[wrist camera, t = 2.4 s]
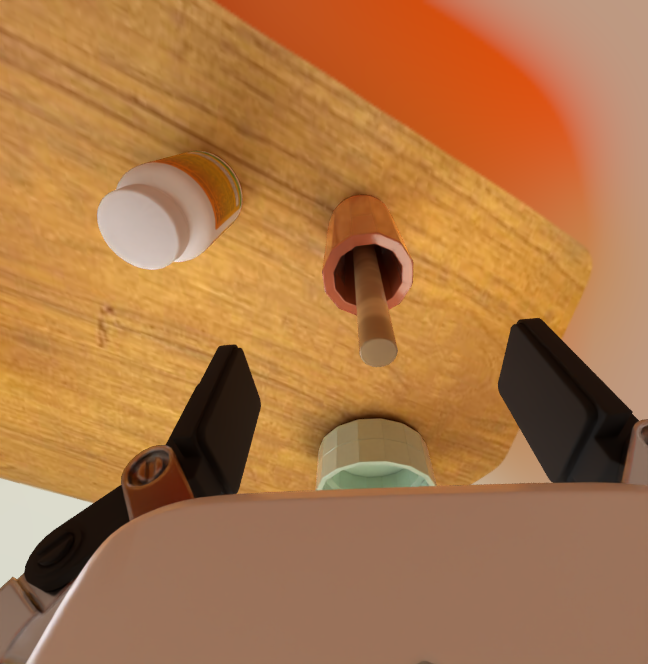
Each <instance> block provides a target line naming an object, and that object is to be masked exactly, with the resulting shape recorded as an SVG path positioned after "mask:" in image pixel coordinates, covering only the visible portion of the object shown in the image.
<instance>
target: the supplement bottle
mask: <svg viewBox="0 0 648 664" xmlns="http://www.w3.org/2000/svg"><path fill="white" fill-rule="evenodd" d="M241 207H242V190H241V186H240V183H239V180H238V178H237V176H236V174H235V173H234V171H233V170H232V169H231V168H230V166H229V165H228V164H227V163H226V162H224V161H223V160H222V159H221V158H219V157H217V156H216V155H213V154H211V153H208V152H204V151H191V152H186V153H182V154H179V155H175V156H171V157H167V158H163V159H160V160H156V161H152V162H148V163H144V164H141V165H139V166H136V167H134V168H132V169H131V170H129V171H128V172H126V173H125V174H124V175H123V177H122V178H121V180H120V181H119V183H118V185H117V188H116V190H114V191H112V192H110V193H108V194H107V195H106V196H105V197H104V198H103V199H102V200H101V202H100V204H99V207H98V212H97V220H98V225H99V229H100V232H101V234H102V236H103V238H104V240H105V241H106V243H107V244H108V246H109V247H110V248H111V249H112V250H113V251H114V252H115V253H116V254H117V255H118V256H119V257H120V258H122V259H123V260H125V261H126V262H128V263H130V264H132V265H134V266H136V267H139V268H143V269H160V268H164V267H166V266H168V265H170V264H171V263H172V262H183V261H187V260H191V259H193V258H195V257H197V256H199V255H200V254H201V253H203V252H204V251H205V250H206V249H207V248H208V247H209V246H210V245H211V244H212V243H213V242H214V241H215V240H216V239H217V238H218V237H219V236H220V235H221V234H222V233H223V232H224V231H225V230H226V229H227V228H228V227H229V226H230V225H231V224H232V223H233V222H234V221H235V219H236V218H237V217H238V215H239V213H240V210H241Z"/></svg>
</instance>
